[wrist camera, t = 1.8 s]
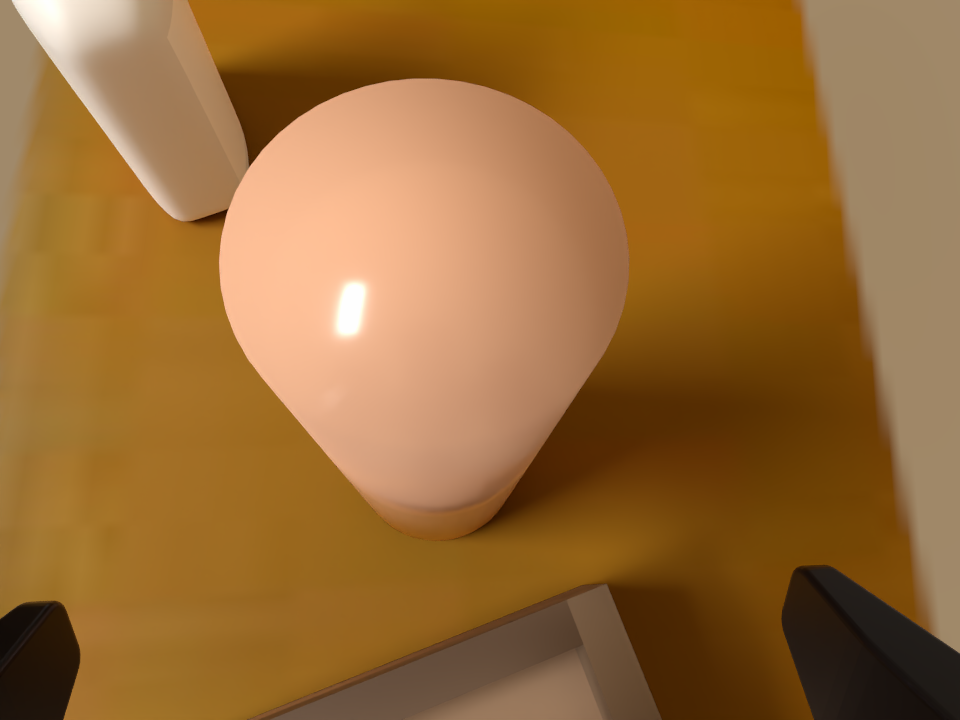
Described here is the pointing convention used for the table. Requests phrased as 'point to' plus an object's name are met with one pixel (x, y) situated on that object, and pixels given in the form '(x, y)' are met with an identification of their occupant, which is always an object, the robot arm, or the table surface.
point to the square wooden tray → (503, 672)
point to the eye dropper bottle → (150, 94)
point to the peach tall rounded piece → (425, 289)
